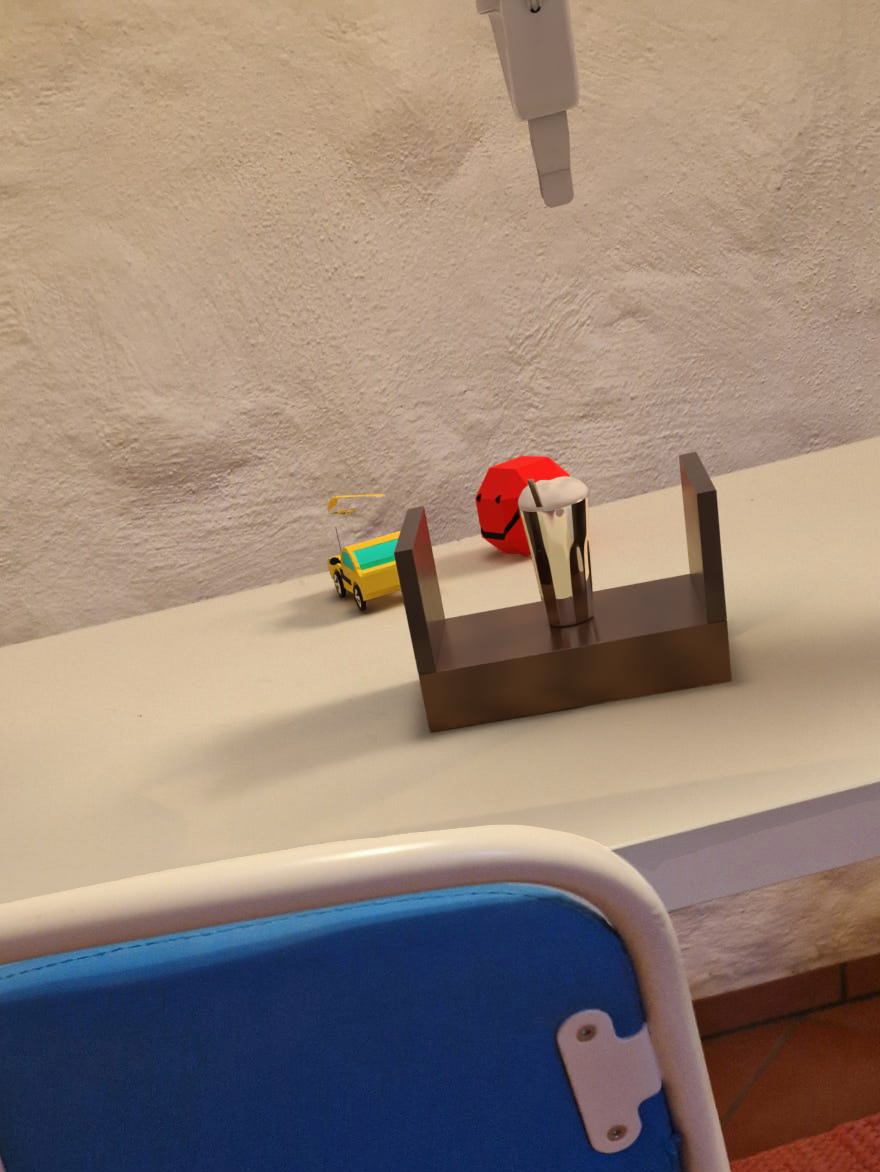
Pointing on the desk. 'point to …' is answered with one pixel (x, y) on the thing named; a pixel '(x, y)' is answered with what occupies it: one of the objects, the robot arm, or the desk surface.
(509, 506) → the ball
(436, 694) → the shelf
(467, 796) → the desk surface
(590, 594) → the milkshake
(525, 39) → the robot arm
